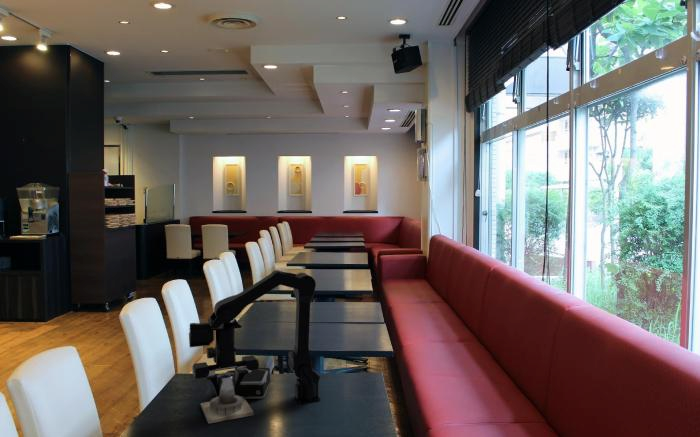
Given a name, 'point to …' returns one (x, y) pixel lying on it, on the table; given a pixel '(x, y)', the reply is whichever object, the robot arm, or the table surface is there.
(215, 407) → the mount
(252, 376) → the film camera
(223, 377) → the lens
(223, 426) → the table surface
